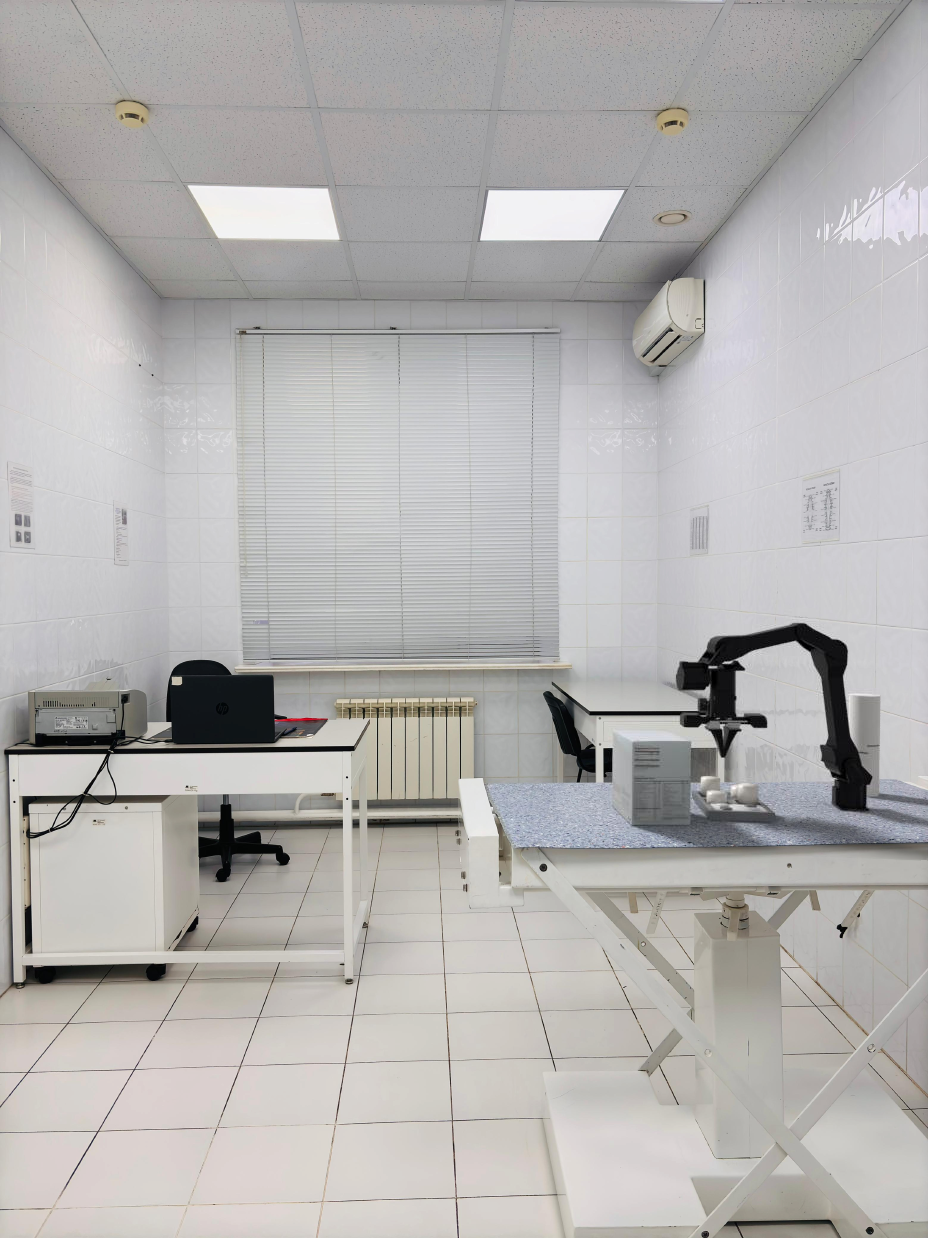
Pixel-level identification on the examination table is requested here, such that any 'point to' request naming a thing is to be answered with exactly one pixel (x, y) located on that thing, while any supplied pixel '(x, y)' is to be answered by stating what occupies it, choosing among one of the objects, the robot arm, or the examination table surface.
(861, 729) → the cylindrical container
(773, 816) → the button board
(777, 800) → the examination table surface
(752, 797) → the button
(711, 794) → the button
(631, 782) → the supplement box
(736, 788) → the button
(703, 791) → the button
